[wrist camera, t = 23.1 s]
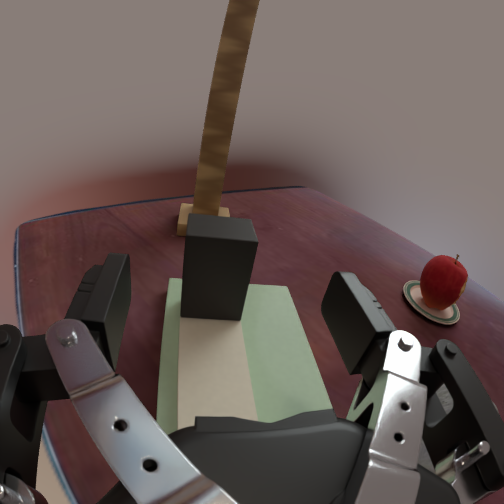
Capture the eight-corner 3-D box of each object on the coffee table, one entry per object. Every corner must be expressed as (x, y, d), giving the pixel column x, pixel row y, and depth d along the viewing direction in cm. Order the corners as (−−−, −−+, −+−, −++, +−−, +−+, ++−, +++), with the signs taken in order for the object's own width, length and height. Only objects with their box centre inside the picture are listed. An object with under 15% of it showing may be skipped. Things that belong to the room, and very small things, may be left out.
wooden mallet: (178, 472, 11) (175, 406, 7) (181, 299, 22) (188, 212, 18) (262, 471, 11) (311, 403, 8) (234, 303, 22) (251, 218, 19)
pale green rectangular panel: (157, 450, 12) (155, 442, 12) (168, 289, 24) (169, 277, 24) (333, 441, 14) (341, 432, 14) (283, 296, 26) (287, 286, 26)
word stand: (176, 235, 32) (226, -47, 17) (180, 213, 37) (223, -27, 22) (230, 240, 34) (286, -35, 18) (226, 218, 39) (274, -18, 23)
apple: (447, 293, 32) (469, 250, 29) (464, 333, 25) (494, 285, 22) (396, 277, 33) (417, 230, 30) (408, 318, 26) (437, 263, 23)
